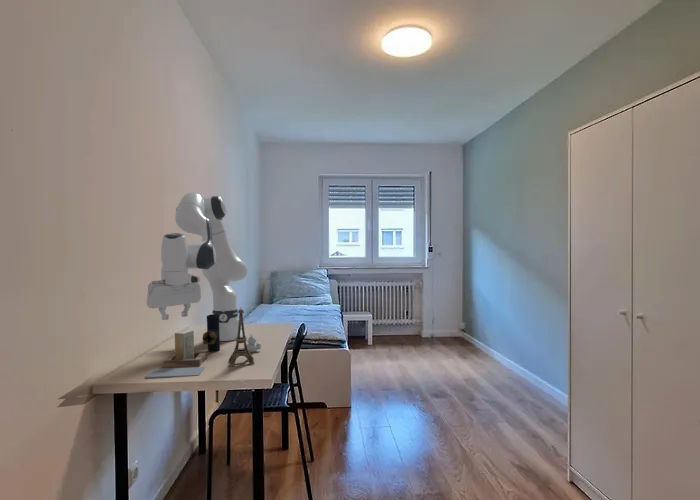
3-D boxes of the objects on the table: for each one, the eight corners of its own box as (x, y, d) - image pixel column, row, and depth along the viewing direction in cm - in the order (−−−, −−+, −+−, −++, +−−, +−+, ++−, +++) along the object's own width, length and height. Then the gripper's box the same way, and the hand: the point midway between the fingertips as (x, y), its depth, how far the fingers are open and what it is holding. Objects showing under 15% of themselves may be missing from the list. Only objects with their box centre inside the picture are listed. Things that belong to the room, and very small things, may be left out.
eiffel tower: (227, 368, 165) (226, 301, 165) (227, 361, 175) (226, 297, 175) (256, 366, 168) (255, 299, 168) (254, 359, 178) (254, 296, 178)
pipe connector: (215, 356, 185) (214, 321, 183) (202, 357, 184) (200, 321, 183) (221, 347, 196) (220, 314, 194) (209, 348, 196) (207, 314, 194)
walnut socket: (173, 359, 179) (172, 352, 179) (206, 357, 181) (206, 351, 181) (163, 368, 166) (163, 361, 166) (199, 366, 168) (199, 360, 168)
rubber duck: (245, 351, 191) (245, 332, 191) (261, 350, 193) (261, 332, 192) (244, 354, 186) (244, 335, 186) (261, 353, 187) (260, 334, 187)
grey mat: (154, 370, 164) (154, 368, 164) (205, 368, 166) (205, 366, 166) (144, 378, 154) (144, 377, 154) (199, 376, 156) (199, 374, 156)
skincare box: (185, 360, 177) (185, 329, 177) (194, 361, 176) (194, 330, 176) (174, 364, 171) (174, 332, 171) (184, 365, 170) (183, 333, 170)
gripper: (154, 281, 149) (154, 323, 149) (203, 277, 166) (203, 314, 166) (142, 280, 152) (142, 321, 152) (192, 276, 169) (192, 313, 169)
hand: (175, 318), depth 159 cm, fingers open, 7 cm apart
